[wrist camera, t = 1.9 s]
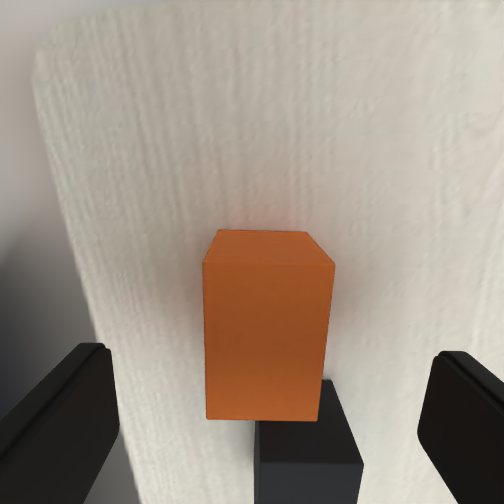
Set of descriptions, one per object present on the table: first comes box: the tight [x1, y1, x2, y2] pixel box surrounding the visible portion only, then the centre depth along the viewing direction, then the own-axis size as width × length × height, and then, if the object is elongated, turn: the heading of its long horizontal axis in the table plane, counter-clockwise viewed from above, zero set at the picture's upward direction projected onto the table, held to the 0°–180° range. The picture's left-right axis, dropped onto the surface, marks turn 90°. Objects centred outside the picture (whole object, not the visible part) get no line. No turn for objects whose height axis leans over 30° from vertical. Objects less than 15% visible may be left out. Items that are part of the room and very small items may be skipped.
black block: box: [254, 380, 364, 504], centre depth 14 cm, size 6×4×4 cm, turn 178°
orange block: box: [203, 230, 335, 421], centre depth 11 cm, size 6×4×4 cm, turn 178°
